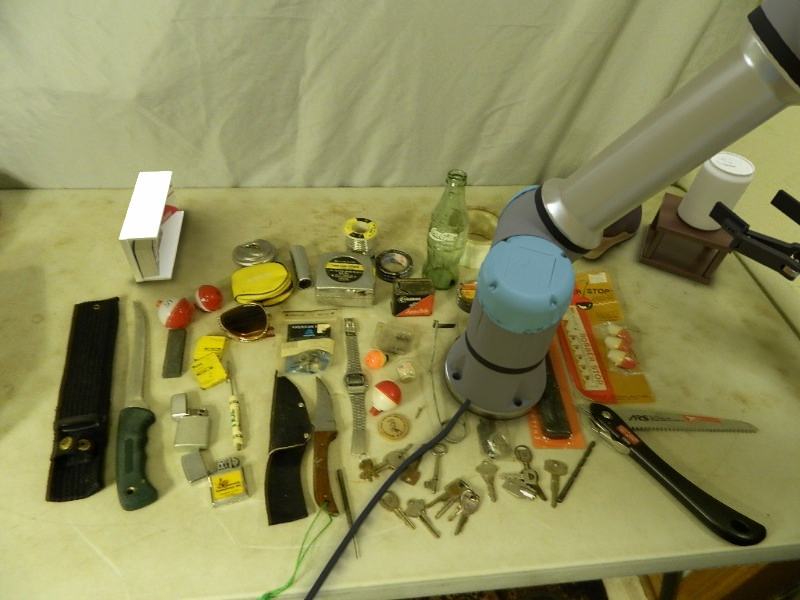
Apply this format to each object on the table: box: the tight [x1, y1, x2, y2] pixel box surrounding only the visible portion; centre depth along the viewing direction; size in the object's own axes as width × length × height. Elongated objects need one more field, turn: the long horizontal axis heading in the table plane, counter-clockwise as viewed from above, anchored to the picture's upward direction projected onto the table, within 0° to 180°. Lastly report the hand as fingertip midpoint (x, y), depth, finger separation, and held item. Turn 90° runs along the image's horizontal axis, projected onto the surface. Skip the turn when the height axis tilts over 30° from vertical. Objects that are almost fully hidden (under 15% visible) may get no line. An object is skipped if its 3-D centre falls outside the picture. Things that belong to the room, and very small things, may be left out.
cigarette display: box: [118, 171, 185, 283], centre depth 93 cm, size 20×6×9 cm, turn 9°
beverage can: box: [678, 150, 756, 230], centre depth 94 cm, size 8×8×12 cm
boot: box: [583, 204, 643, 260], centre depth 101 cm, size 9×24×20 cm, turn 143°
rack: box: [638, 191, 737, 286], centre depth 101 cm, size 12×13×9 cm
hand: (745, 202), depth 88 cm, fingers open, 13 cm apart
